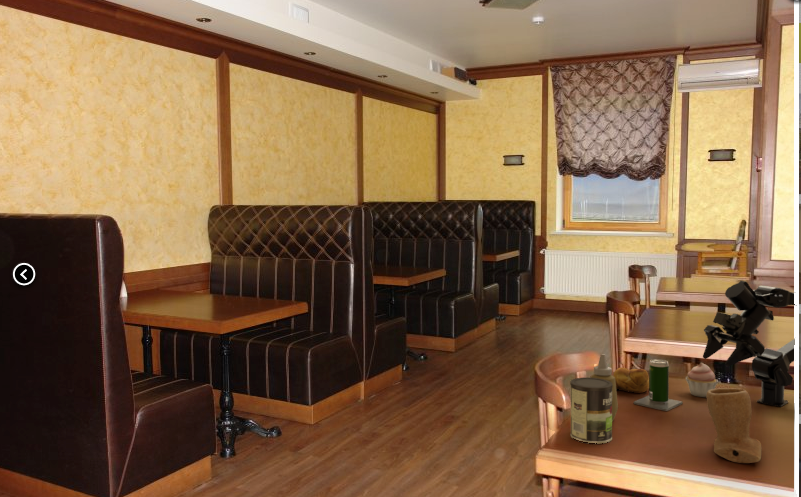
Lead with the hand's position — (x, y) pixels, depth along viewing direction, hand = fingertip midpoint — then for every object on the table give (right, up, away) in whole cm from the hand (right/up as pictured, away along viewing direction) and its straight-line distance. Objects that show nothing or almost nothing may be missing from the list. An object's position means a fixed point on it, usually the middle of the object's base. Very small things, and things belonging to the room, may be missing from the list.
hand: (714, 361), depth 187 cm
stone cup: (-11, -16, -32) cm, 38 cm away
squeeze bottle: (-34, -15, -7) cm, 38 cm away
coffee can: (-41, -16, -20) cm, 48 cm away
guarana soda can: (-14, -13, +6) cm, 20 cm away
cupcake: (+3, -13, +15) cm, 20 cm away
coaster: (-14, -13, +6) cm, 20 cm away
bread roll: (-17, -13, +21) cm, 30 cm away
